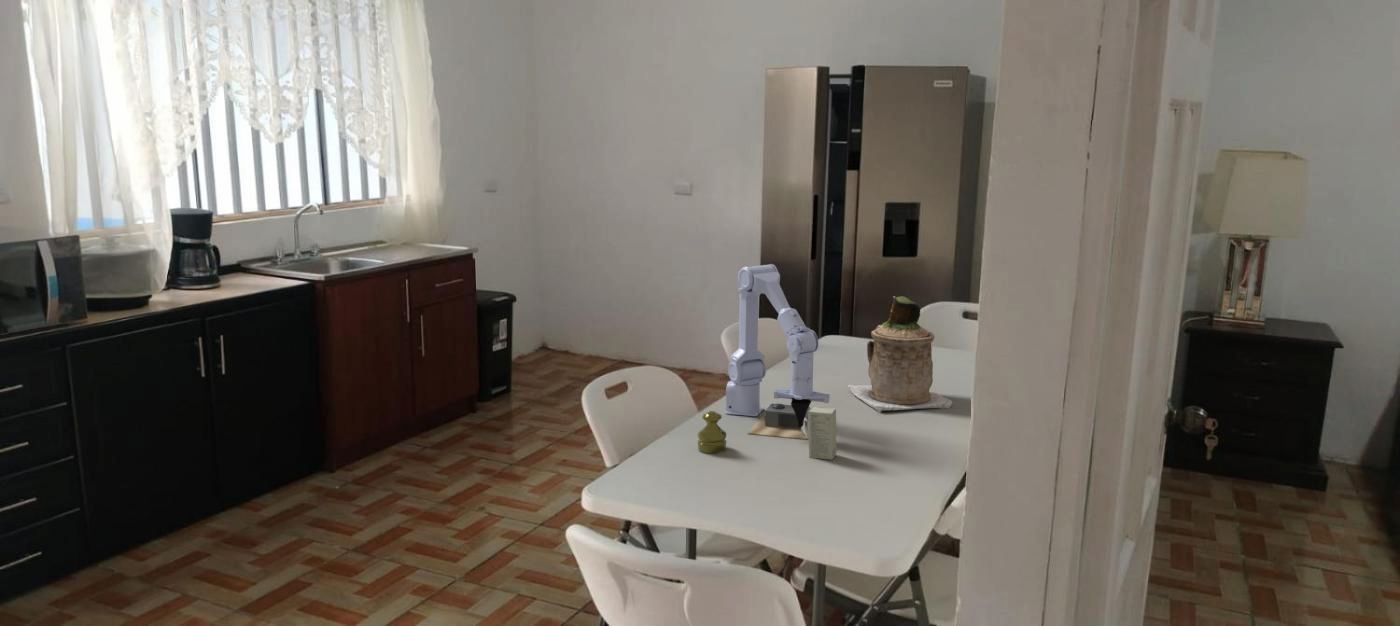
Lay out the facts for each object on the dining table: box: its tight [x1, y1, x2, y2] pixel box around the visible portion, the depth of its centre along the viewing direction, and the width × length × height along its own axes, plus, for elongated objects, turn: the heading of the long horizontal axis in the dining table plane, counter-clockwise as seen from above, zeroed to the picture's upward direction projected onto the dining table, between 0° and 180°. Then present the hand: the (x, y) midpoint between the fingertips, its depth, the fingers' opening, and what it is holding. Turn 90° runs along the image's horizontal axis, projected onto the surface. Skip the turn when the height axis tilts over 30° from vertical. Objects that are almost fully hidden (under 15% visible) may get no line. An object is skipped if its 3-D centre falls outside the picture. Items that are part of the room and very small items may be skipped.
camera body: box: [764, 403, 811, 429], centre depth 267 cm, size 11×7×5 cm, turn 71°
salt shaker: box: [697, 410, 727, 454], centre depth 248 cm, size 7×7×10 cm
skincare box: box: [808, 406, 837, 461], centre depth 242 cm, size 6×4×12 cm
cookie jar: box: [847, 295, 953, 414], centre depth 288 cm, size 25×25×32 cm
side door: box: [801, 418, 809, 438], centre depth 259 cm, size 7×2×4 cm, turn 9°
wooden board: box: [747, 415, 809, 441], centre depth 265 cm, size 18×16×1 cm
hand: (801, 426), depth 257 cm, fingers closed
